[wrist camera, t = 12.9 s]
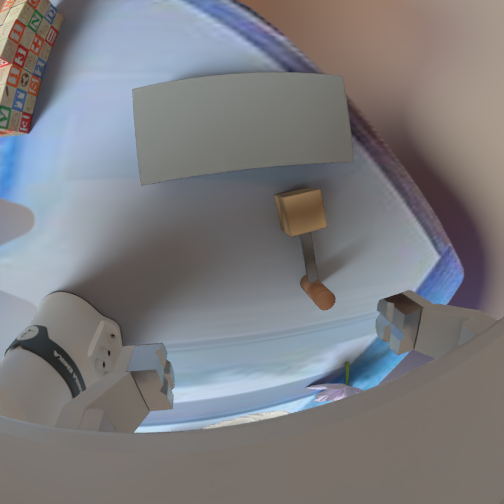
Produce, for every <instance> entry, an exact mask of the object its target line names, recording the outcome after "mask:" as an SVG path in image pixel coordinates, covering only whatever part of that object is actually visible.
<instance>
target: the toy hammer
mask: <svg viewBox="0 0 504 504" xmlns="http://www.w3.org/2000/svg"><path fill="white" fill-rule="evenodd" d="M274 196H275V201H276V205H277V210H278V215H279V219H280V224H281V229H282V231H284V232H285V233H287V234H288V235H290V236H291V237H292V236H296V235H300V239H301V244H302V250H303V255H304V261H305V267H306V273H307V275H305V276H304V277H303V278H302V279H301V282H300V285H301V287H302V289H303V290H304V291H305V292H306V293H307V294H308V296H309V297H310V298H311V299H312V300H313V301H314V302H315V304H316V305H317V306H318V307H319V308H320V309H321V310H328V309H330V308H331V307H332V306H333V305H334V303H335V296H334V294H333V293H332V292H331V291H330V290H328V289H327V288H326V287H325V286H324V285H323V284H322V283H321V282H320V281H319V280H318V275H317V268H316V262H315V255H314V249H313V243H312V237H311V231H315V230H318V229H322V228H326V227H327V224H326V217H325V212H324V206H323V200H322V195H321V189H314V188H304V189H299V190H295V191H291V192H286V193H282V194H278V195H274Z"/></svg>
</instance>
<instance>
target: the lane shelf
mask: <svg viewBox="0 0 504 504" xmlns="http://www.w3.org/2000/svg"><path fill="white" fill-rule="evenodd" d="M132 94H133V112H134V126H135V137H136V147H137V157H138V165H139V173H140V180H141V185H148V184H154V183H160V182H163V181H169V180H174V179H180V178H186V177H193V176H199V175H206V174H216V173H222V172H228V171H236V170H245V169H254V168H264V167H278V166H287V165H299V164H315V163H335V162H354V155H353V145H352V136H351V128H350V120H349V113H348V106H347V100H346V94H345V88H344V82H343V76H339V75H329V74H315V73H291V72H262V73H238V74H225V75H214V76H204V77H196V78H189V79H182V80H176V81H170V82H164V83H159V84H154V85H149V86H144V87H140V88H135V89H132Z"/></svg>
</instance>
